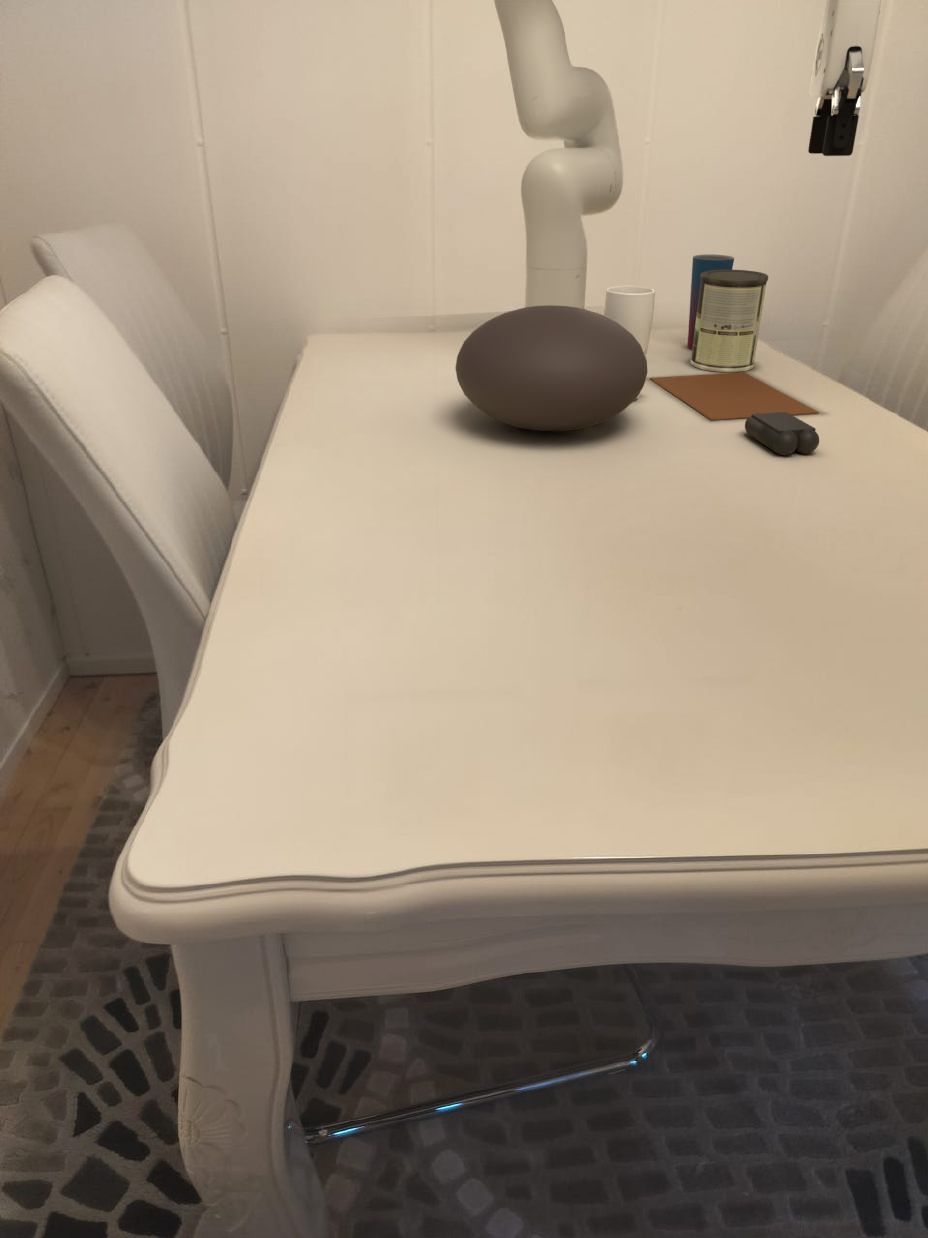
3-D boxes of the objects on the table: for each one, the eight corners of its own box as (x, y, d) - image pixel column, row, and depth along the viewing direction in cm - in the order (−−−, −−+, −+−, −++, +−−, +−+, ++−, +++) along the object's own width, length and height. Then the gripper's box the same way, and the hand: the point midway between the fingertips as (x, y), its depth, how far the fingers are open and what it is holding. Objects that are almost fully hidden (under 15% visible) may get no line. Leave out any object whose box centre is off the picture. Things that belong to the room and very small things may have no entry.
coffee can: (678, 359, 149) (688, 270, 142) (733, 355, 152) (745, 267, 145) (709, 374, 141) (722, 280, 134) (766, 370, 143) (781, 277, 136)
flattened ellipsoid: (602, 393, 131) (611, 287, 124) (672, 447, 110) (687, 323, 103) (439, 403, 127) (438, 294, 119) (479, 461, 106) (480, 333, 98)
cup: (722, 353, 153) (735, 260, 146) (682, 351, 154) (693, 259, 147) (720, 344, 159) (733, 254, 152) (682, 342, 160) (692, 253, 153)
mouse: (777, 459, 106) (781, 435, 105) (739, 433, 115) (742, 410, 113) (821, 456, 107) (826, 431, 106) (780, 430, 116) (784, 408, 114)
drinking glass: (648, 393, 131) (659, 286, 124) (640, 406, 126) (651, 295, 118) (602, 389, 133) (610, 284, 126) (593, 401, 128) (601, 292, 120)
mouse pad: (710, 420, 120) (711, 419, 120) (649, 378, 138) (649, 377, 138) (818, 413, 122) (819, 411, 122) (744, 373, 141) (744, 372, 141)
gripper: (808, -10, 105) (785, 152, 114) (836, -33, 90) (808, 157, 99) (875, -13, 104) (847, 152, 112) (915, -36, 89) (879, 156, 98)
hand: (828, 154), depth 106 cm, fingers open, 9 cm apart
